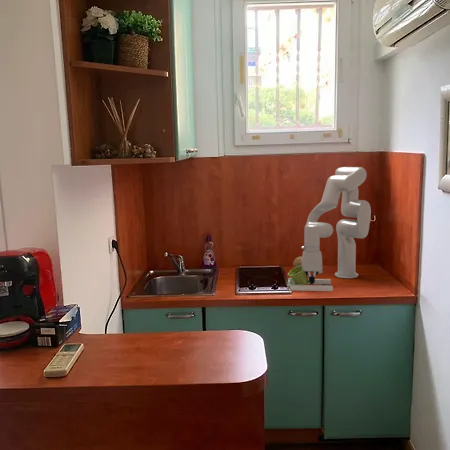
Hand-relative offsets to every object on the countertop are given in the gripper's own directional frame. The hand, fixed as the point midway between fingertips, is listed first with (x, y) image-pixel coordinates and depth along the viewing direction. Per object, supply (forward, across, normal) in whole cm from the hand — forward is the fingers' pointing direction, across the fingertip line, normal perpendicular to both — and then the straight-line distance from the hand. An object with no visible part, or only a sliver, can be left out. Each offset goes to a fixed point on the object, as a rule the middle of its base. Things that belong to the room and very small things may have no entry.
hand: (311, 283), depth 237 cm
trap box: (+2, -1, +1) cm, 2 cm away
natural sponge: (+2, -4, +28) cm, 29 cm away
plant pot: (+1, -4, +1) cm, 4 cm away
